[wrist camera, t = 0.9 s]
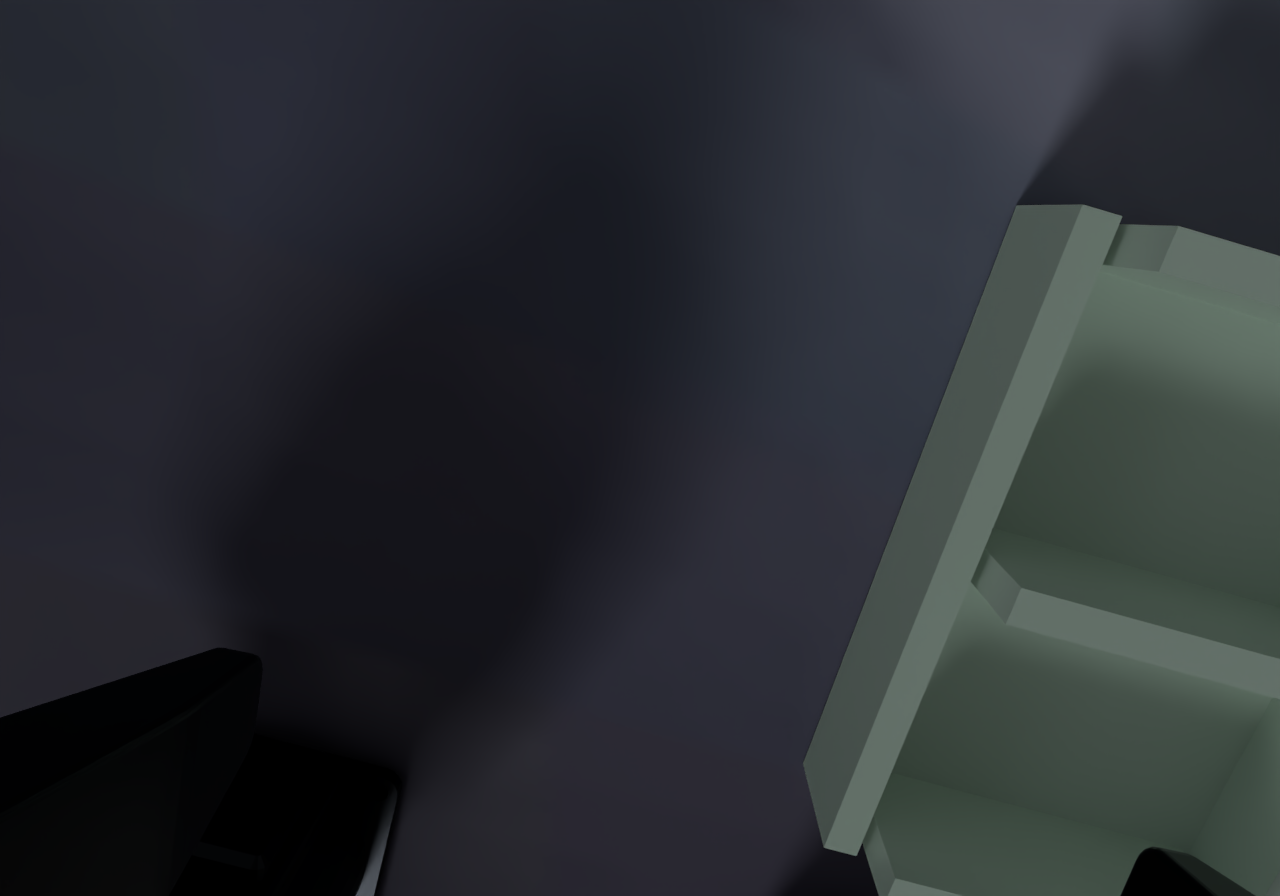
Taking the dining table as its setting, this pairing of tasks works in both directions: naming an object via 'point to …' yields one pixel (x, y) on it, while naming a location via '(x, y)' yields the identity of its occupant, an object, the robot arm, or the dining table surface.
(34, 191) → the dining table surface
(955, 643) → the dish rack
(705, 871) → the dining table surface
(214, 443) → the dining table surface
